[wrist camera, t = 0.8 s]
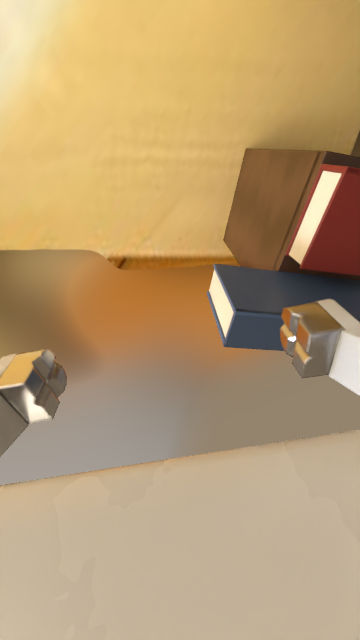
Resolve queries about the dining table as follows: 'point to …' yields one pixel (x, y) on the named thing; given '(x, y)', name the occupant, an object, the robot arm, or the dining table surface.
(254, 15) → the dining table surface
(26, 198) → the dining table surface
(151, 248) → the dining table surface
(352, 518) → the robot arm
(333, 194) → the dictionary
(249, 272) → the slate book
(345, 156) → the bookcase
